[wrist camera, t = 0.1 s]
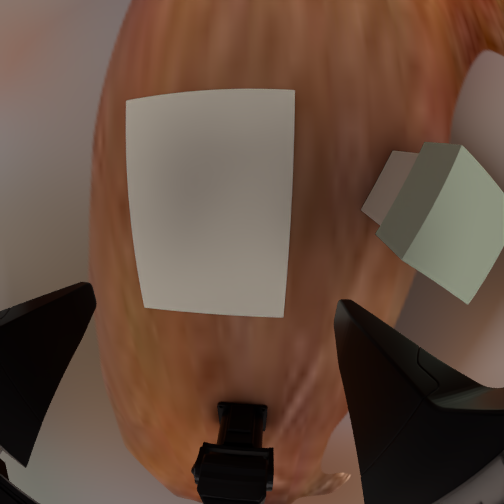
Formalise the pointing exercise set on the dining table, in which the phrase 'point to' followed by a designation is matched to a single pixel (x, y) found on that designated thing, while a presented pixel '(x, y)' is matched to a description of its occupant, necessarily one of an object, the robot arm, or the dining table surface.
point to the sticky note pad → (447, 219)
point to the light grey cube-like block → (388, 185)
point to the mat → (212, 199)
